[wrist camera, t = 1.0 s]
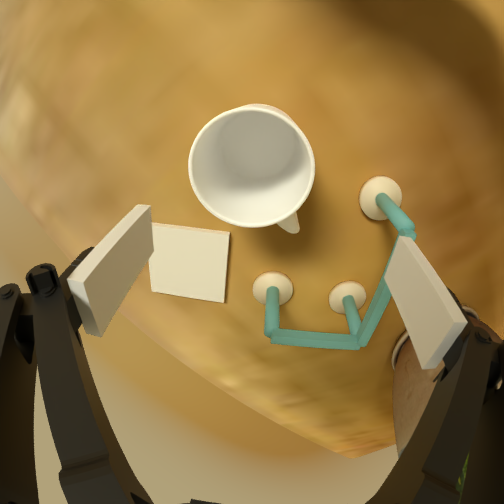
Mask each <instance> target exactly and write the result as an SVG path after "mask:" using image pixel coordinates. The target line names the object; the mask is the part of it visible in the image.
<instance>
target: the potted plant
mask: <svg viewBox="0 0 504 504" xmlns="http://www.w3.org/2000/svg"><path fill="white" fill-rule="evenodd" d="M462 308H463V309H464V310H465V312H466V314H467V315H468V317H469V319H470V320H471V322H472V324H473V325H474V327H475V326H476V327H481V328H483V329H484V330H486V331H487V332H488V333H489V334H490V336H491V338H492V340H493V342H496V343H500V344H501V343H502V341H503V340H502V339H501V338H500V337H499V336H498V335H497V334H496V333H495V332H494V331H493V330H492V329H491V328H490V327H489V326H487V325H486V324H485V323H483V322H481V321H480V320H479V317H478V314H477V313H476V312H475V310H473V309H472V308H470V307H468V306H465V305H462ZM444 366H445V364H444V361H443V359H442V360H441V362H440V363H439V364H438V366H437V367H436V368H434V369H422V368H421V365H420V362H419V360H418V357H417V354H416V352H415V349H414V346H413V344H412V341H411V339H410V336H409V334H408V331H407V329H406V331H405V332H404V333H403V334H402V336H401V337H400V339H399V340H398V341H397V343H396V346H395V348H394V351H393V355H392V368H393V369H394V371H395V372H394V379H393V418H394V428H395V436H396V445H397V452H398V457H399V458H400V456H401V454H402V452H403V451H404V449H405V447H406V445H407V444H408V442H409V440H410V438H411V436H412V434H413V432H414V430H415V428H416V427H417V425H418V422H419V420H420V418H421V416H422V414H423V412H424V410H425V408H426V406H427V403H428V401H429V399H430V397H431V394H432V392H433V390H434V387H435V385H436V382H437V380H436V381H435V382H432V381H433V380H434V379H435V377H436V376H437V375H438V374H439V372H440V371H441V370H442V369H443V367H444ZM501 383H502V380H501V381H500V382H499V383H498V389H499V388H500V386H501ZM468 457H469V453H468V456H467V459H466V462H465V464H464V467H463V469H462V472H461V474H460V477H459V479H458V482H457V484H456V490H458V491H459V492H460V495H462V491H463V486H464V481H465V476H466V470H467V464H468ZM460 499H461V497H460ZM459 503H460V500H459ZM459 503H458V504H459Z"/></svg>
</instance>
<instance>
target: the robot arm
mask: <svg viewBox="0 0 504 504" xmlns="http://www.w3.org/2000/svg"><path fill="white" fill-rule="evenodd" d="M153 252H154V245H153V233H152V220H151V205H138V204H137V205H136V206H135V207H134V208H133V209H132V210H131V211H130V212H129V213H128V214H127V215H126V216H125V217H124V218H123V219H122V220H121V221H120V222H119V223H118V224H117V225H116V226H115V227H114V228H113V229H112V230H111V231H110V232H109V233H108V234H107V235H106V236H105V237H104V238H103V239H102V240H101V241H100V243H99V244H98V245H97V246H96V247H90V248H88V249H86V250H85V251H83V252H82V253H81V254H80V255H79V256H78V257H77V258H76V260H74V261H73V262H72V263H71V265H70V266H69V267H68V268H67V269H66V270H65V271H64V272H63V273H62V275H61V276H60V277H59V278H58V274H57V271H56V268H55V266H54V265H52V264H47V263H45V264H40V265H38V266H35V267H34V268H32V269H31V270H30V271H29V272H28V273H27V275H26V281H27V284H28V286H29V289H30V291H31V293H24V294H22V293H21V291H20V288H19V286H18V285H17V284H12V283H11V284H6V285H4V286H2V287H1V288H0V504H39V499H38V488H37V480H36V470H35V458H34V430H33V429H34V395H35V381H36V371H37V365H38V371H39V377H40V384H41V389H42V394H43V400H44V404H45V409H46V413H47V417H48V421H49V425H50V429H51V432H52V436H53V439H54V443H55V447H56V450H57V453H58V456H59V459H60V462H61V466H62V470H61V471H60V472H59V481H60V484H61V487H62V490H63V492H64V495H65V497H66V500H67V502H68V504H154V503H153V502H152V500H151V498H150V497H149V496H148V494H147V492H146V491H145V489H144V488H143V487H142V485H141V484H140V483H139V481H138V480H137V478H136V476H135V475H134V473H133V471H132V469H131V467H130V466H129V463H128V461H127V459H126V457H125V455H124V453H123V451H122V449H121V447H120V445H119V443H118V441H117V438H116V436H115V434H114V432H113V429H112V427H111V425H110V423H109V420H108V418H107V415H106V413H105V410H104V408H103V405H102V402H101V400H100V397H99V394H98V392H97V389H96V386H95V383H94V380H93V377H92V374H91V371H90V368H89V365H88V362H87V358H86V355H85V351H84V348H83V344H82V340H81V337H80V334H79V331H78V329H79V327H80V326H81V324H83V327H84V329H85V331H86V333H87V334H91V335H94V336H98V337H102V335H103V333H104V332H105V330H106V328H107V327H108V325H109V323H110V321H111V320H112V317H113V316H114V314H115V313H116V311H117V309H118V308H119V306H120V304H121V303H122V301H123V299H124V298H125V296H126V294H127V293H128V291H129V290H130V288H131V286H132V285H133V283H134V282H135V280H136V278H137V277H138V275H139V274H140V272H141V270H142V269H143V267H144V266H145V264H146V263H147V261H148V260H149V258H150V257H151V255H152V254H153ZM384 279H385V281H386V283H387V285H388V288H389V290H390V292H391V294H392V296H393V299H394V301H395V303H396V305H397V308H398V310H399V312H400V315H401V317H402V319H403V322H404V324H405V326H406V329H407V331H408V334H409V336H410V339H411V341H412V344H413V346H414V349H415V352H416V354H417V357H418V360H419V362H420V365H421V368H422V369H434V368H436V367H437V366H438V364H439V363H440V362H441V360H442V359H443V361H444V364H445V366H444V367H443V369H442V370H441V371H440V372H439V374H438V375H437V376H436V377H435V379H434V380H433V381H432V382H435V381H436V380H437V382H436V385H435V387H434V390H433V392H432V394H431V397H430V399H429V401H428V403H427V406H426V408H425V410H424V412H423V414H422V416H421V418H420V420H419V422H418V425H417V427H416V428H415V430H414V432H413V434H412V436H411V438H410V440H409V442H408V444H407V445H406V447H405V449H404V451H403V452H402V454H401V456H400V458H399V459H398V461H397V463H396V464H395V466H394V467H393V469H392V471H391V472H390V474H389V475H388V477H387V479H386V480H385V482H384V483H383V484H382V486H381V487H380V489H379V490H378V492H377V493H376V494H375V495H374V496H373V497H372V498H371V499H370V500H369V501H367V502H366V503H365V504H458V503H459V500H460V503H459V504H504V340H503V341H502V343H501V344H500V343H496V342H493V340H492V338H491V336H490V334H489V333H488V332H487V331H486V330H484V329H483V328H481V327H476V326H475V327H474V325H473V324H472V322H471V320H470V319H469V317H468V315H467V314H466V312H465V310H464V309H463V308H462V305H461V304H460V302H459V301H458V299H457V298H456V296H455V294H454V293H453V292H452V291H451V290H450V289H449V288H447V287H446V286H445V285H444V283H443V282H442V280H441V279H440V277H439V276H438V275H437V273H436V272H435V270H434V269H433V267H432V266H431V264H430V263H429V262H428V260H427V259H426V257H425V256H424V255H423V253H422V252H421V251H420V249H419V248H418V246H417V245H416V244H415V242H414V241H413V240H412V239H411V238H410V237H405V236H399V238H398V241H397V243H396V246H395V249H394V252H393V255H392V257H391V260H390V263H389V265H388V268H387V271H386V273H385V276H384ZM501 380H502V383H501V386H500V388H499V389H498V383H499V382H500V381H501ZM468 453H469V457H468V464H467V470H466V476H465V481H464V486H463V491H462V495H460V492H459V491H458V490H456V484H457V482H458V479H459V477H460V474H461V472H462V469H463V467H464V464H465V462H466V459H467V456H468ZM460 497H461V499H460ZM183 504H219V503H212V502H206V501H199V500H193V499H191V501H190V503H183Z"/></svg>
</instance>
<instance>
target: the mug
mask: <svg viewBox="0 0 504 504" xmlns="http://www.w3.org/2000/svg"><path fill="white" fill-rule="evenodd" d="M188 171H189V178H190V182H191V185H192V188H193V190H194V192H195V194H196V196H197V198H198V199H199V201H200V202H201V203H202V204H203V206H204V207H205V208H206V209H207V210H208V211H209V212H211V213H212V214H213V215H214V216H216V217H218V218H219V219H221V220H223V221H225V222H227V223H230V224H233V225H236V226H241V227H249V228H257V227H265V226H269V225H273V224H276V223H277V224H278V225H279V226H280V227H281V228H283V229H284V230H286V231H287V232H290V233H292V234H294V233H298V232H299V230H300V227H299V223H298V218H297V213H296V211H297V210H298V209H299V208H300V207H301V205H302V204H303V203H304V202H305V200H306V198H307V197H308V195H309V193H310V191H311V188H312V185H313V182H314V176H315V161H314V155H313V152H312V148H311V146H310V144H309V141H308V140H307V138H306V136H305V135H304V133H303V132H302V131H301V130H300V128H299V127H298V126H297V125H296V124H295V122H294V121H293V120H292V119H291V118H290V117H289V116H288V115H287V114H286V113H284V112H283V111H281V110H280V109H278V108H276V107H273V106H270V105H265V104H250V105H245V106H242V107H238V108H235V109H232V110H229V111H226V112H224V113H222V114H220V115H218V116H217V117H215V118H214V119H212V120H211V121H210V122H209V123H207V124H206V125H205V126H204V127H203V129H202V130H201V131H200V132H199V134H198V135H197V137H196V139H195V140H194V143H193V145H192V147H191V151H190V155H189V162H188Z"/></svg>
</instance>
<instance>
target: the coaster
mask: <svg viewBox="0 0 504 504" xmlns="http://www.w3.org/2000/svg"><path fill="white" fill-rule="evenodd" d="M152 233H153V245H154V252H153V254H152V255H151V257H150V258H149V269H150V279H151V288H152V291H154V292H160V293H165V294H171V295H177V296H183V297H189V298H195V299H202V300H208V301H215V302H222V303H224V300H225V287H226V275H227V262H228V250H229V239H230V232H225V231H218V230H210V229H202V228H194V227H186V226H178V225H170V224H161V223H153V222H152Z"/></svg>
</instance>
